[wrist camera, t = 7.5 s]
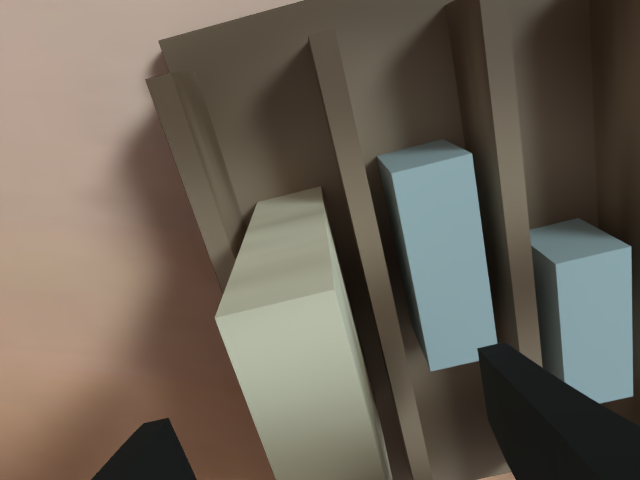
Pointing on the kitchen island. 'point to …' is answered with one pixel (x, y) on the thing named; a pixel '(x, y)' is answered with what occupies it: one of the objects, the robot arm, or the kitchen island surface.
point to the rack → (408, 131)
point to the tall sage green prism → (301, 346)
